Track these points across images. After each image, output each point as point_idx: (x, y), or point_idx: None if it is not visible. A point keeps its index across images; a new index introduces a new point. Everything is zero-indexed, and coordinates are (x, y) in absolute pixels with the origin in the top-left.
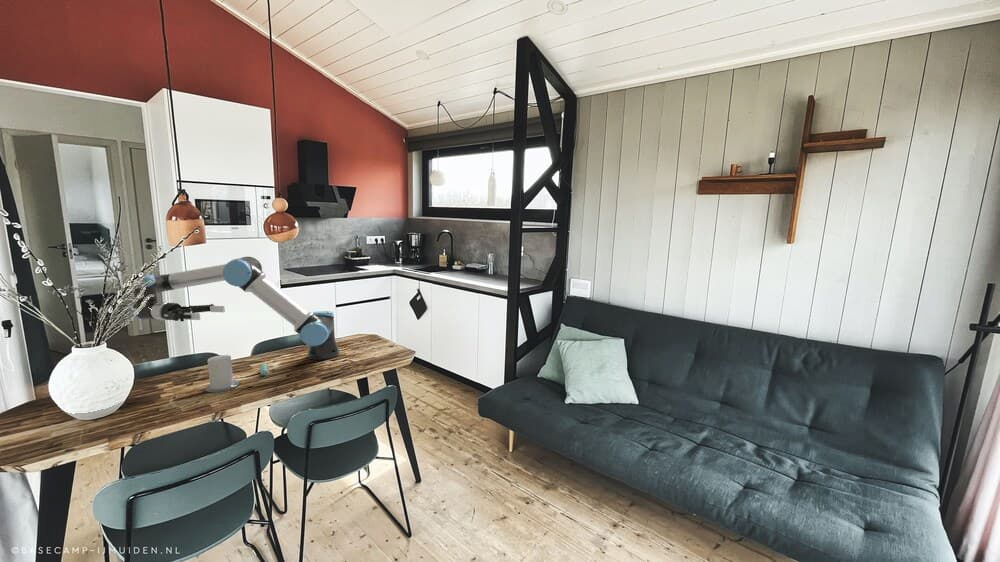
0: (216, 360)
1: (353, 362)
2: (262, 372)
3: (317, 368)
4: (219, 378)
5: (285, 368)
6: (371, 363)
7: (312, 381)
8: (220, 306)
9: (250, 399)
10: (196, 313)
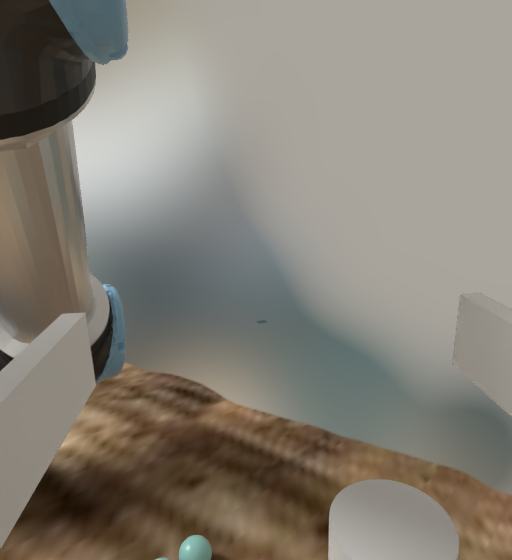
0: (422, 510)
1: None
2: (210, 547)
3: (125, 442)
4: None
5: (110, 535)
6: None
7: (234, 410)
8: (70, 328)
9: (401, 465)
10: (492, 301)
